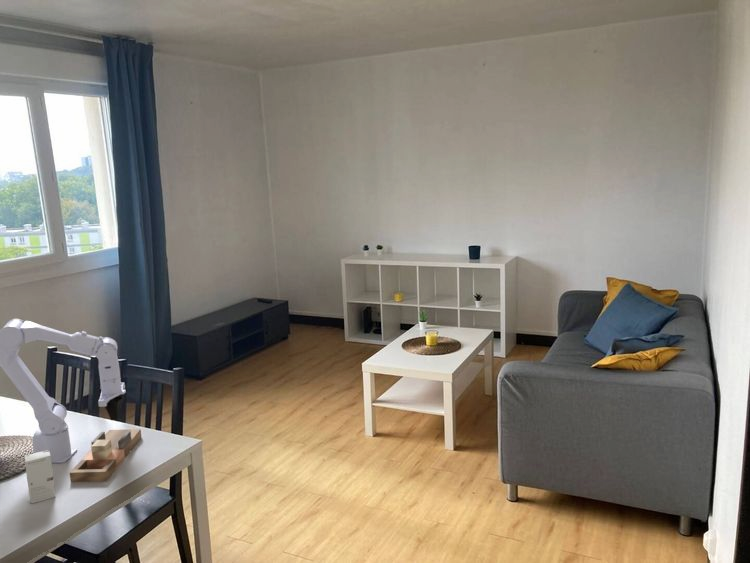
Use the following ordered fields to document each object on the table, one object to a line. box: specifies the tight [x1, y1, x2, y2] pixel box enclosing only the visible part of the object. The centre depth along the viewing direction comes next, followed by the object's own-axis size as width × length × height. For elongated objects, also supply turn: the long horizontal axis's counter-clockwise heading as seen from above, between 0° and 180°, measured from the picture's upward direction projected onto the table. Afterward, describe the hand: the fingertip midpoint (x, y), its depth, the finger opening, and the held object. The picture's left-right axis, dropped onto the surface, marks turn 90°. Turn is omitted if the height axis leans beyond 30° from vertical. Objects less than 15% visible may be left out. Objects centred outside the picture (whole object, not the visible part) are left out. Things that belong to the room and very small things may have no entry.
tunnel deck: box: [69, 428, 142, 483], centre depth 179 cm, size 10×26×6 cm, turn 1°
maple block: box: [90, 439, 112, 459], centre depth 175 cm, size 4×4×4 cm
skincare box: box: [23, 450, 56, 504], centre depth 159 cm, size 6×4×12 cm
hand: (115, 419), depth 185 cm, fingers closed
